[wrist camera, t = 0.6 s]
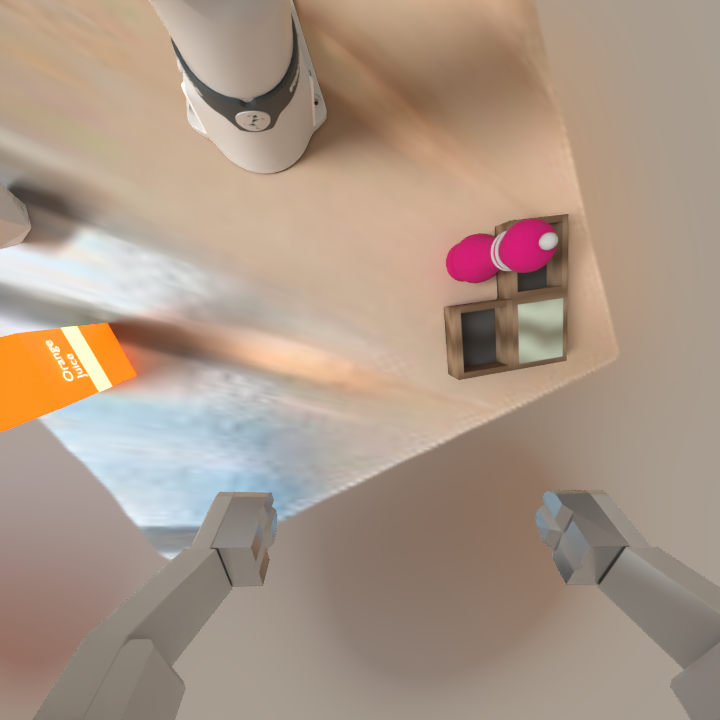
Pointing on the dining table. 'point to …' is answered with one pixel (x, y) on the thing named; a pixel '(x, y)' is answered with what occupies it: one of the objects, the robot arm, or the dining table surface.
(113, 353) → the orange juice
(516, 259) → the pepper mill
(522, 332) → the box
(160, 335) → the dining table surface
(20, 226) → the die
